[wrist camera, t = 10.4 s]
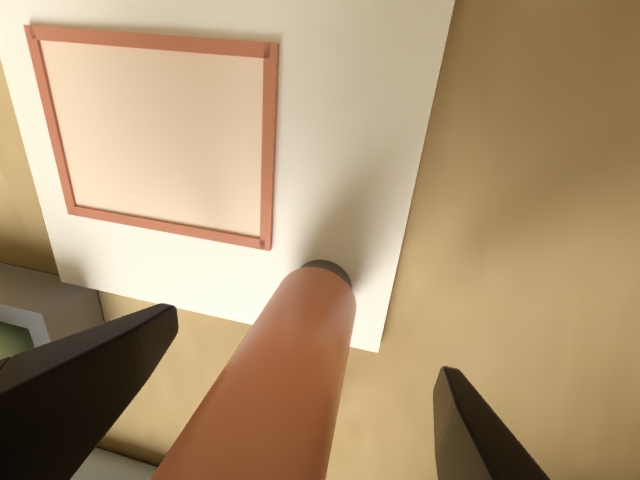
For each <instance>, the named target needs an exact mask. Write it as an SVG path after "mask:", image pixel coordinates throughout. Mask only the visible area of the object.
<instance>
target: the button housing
mask: <svg viewBox="0 0 640 480" xmlns="http://www.w3.org/2000/svg"><path fill="white" fill-rule="evenodd" d="M0 322H4V323H8V324H12V325H16V326H20V327H24V328H28V329H29V332H30V335H31V338H32V341H33V344H34V347H38V346H41V345H43V344H46V343H49V342H52V341H55V340H58V339H60V338H63V337H66V336H69V335H72V334H75V333H78V332H80V331H83V330H86V329H89V328H92V327H95V326H97V325H100V324H103V323H104V320H103V316H102V311H101V306H100V302H99V297H98V293H97V290H95V289H91V288H86V287H82V286H78V285H73V284H69V283H64V282H61V280H60V276H59V275H54V274H50V273H45V272H41V271H36V270H32V269H27V268H23V267H18V266H13V265H9V264H4V263H0Z"/></svg>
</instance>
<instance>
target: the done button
mask: <svg viewBox="0 0 640 480" xmlns="http://www.w3.org/2000/svg"><path fill="white" fill-rule="evenodd" d="M32 348H35V347H34V344H33V341H32V338H31V335H30V332H29V329H28V328H24V327H20V326H16V325H12V324H8V323H4V322H0V360H1V359H3V358H6V357H12V356H13V355H15V354H18V353H21V352H24V351H26V350H29V349H32Z"/></svg>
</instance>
